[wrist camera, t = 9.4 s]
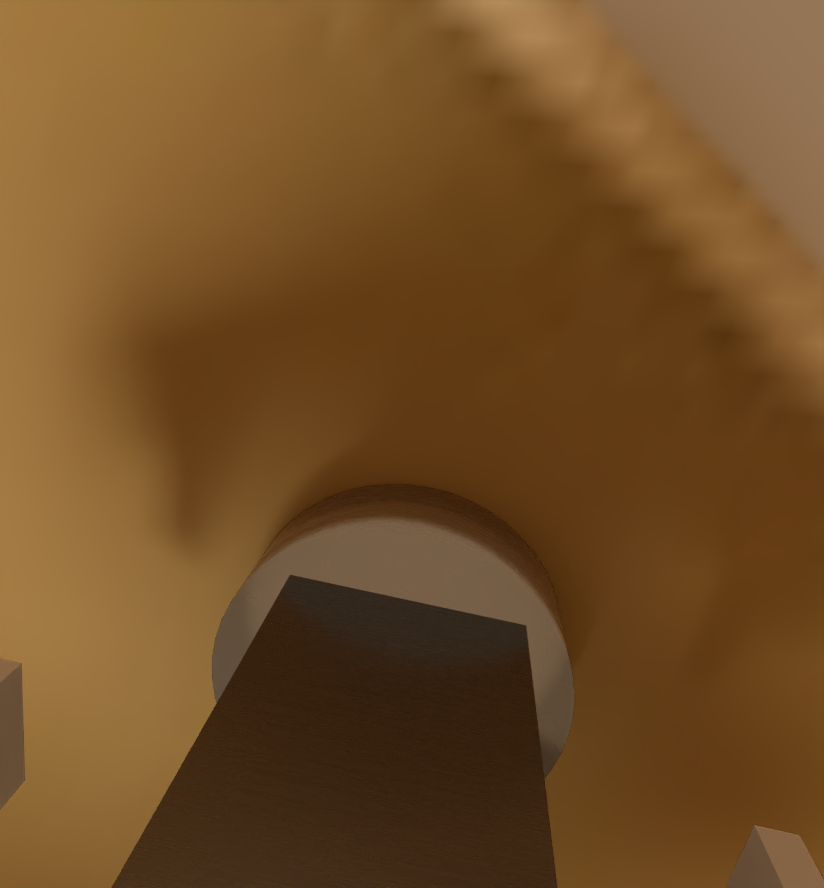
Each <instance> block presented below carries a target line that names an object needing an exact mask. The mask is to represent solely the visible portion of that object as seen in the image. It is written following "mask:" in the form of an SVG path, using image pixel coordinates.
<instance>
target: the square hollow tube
mask: <svg viewBox="0 0 824 888" xmlns="http://www.w3.org/2000/svg"><path fill="white" fill-rule="evenodd" d="M112 888H557V881H556V873H555V864H554V856H553V847H552V839H551V830H550V822H549V813H548V805H547V797H546V788H545V780H544V771H543V763H542V754H541V746H540V737H539V729H538V720H537V712H536V704H535V695H534V687H533V678H532V670H531V661H530V653H529V644H528V636H527V627H526V625H522V624H518V623H513V622H508V621H504V620H499V619H494V618H490V617H485V616H480V615H476V614H471V613H466V612H462V611H457V610H452V609H448V608H443V607H438V606H434V605H429V604H424V603H420V602H415V601H411V600H406V599H401V598H397V597H392V596H387V595H383V594H378V593H373V592H369V591H364V590H359V589H355V588H350V587H345V586H341V585H336V584H331V583H327V582H322V581H317V580H313V579H308V578H303V577H299V576H294V575H290V576H289V577H288V579H287V581H286V583H285V584H284V586H283V588H282V590H281V591H280V593H279V595H278V597H277V598H276V600H275V602H274V604H273V605H272V607H271V609H270V611H269V612H268V614H267V616H266V618H265V619H264V621H263V623H262V625H261V626H260V628H259V630H258V632H257V633H256V635H255V637H254V639H253V640H252V642H251V644H250V646H249V648H248V649H247V651H246V653H245V655H244V656H243V658H242V660H241V662H240V663H239V665H238V667H237V669H236V670H235V672H234V674H233V676H232V677H231V679H230V681H229V683H228V684H227V686H226V688H225V690H224V691H223V693H222V695H221V697H220V698H219V700H218V702H217V704H216V705H215V707H214V709H213V711H212V712H211V714H210V716H209V718H208V719H207V721H206V723H205V725H204V727H203V728H202V730H201V732H200V734H199V735H198V737H197V739H196V741H195V742H194V744H193V746H192V748H191V749H190V751H189V753H188V755H187V756H186V758H185V760H184V762H183V763H182V765H181V767H180V769H179V770H178V772H177V774H176V776H175V777H174V779H173V781H172V783H171V784H170V786H169V788H168V790H167V791H166V793H165V795H164V797H163V798H162V800H161V802H160V804H159V806H158V807H157V809H156V811H155V813H154V814H153V816H152V818H151V820H150V821H149V823H148V825H147V827H146V828H145V830H144V832H143V834H142V835H141V837H140V839H139V841H138V842H137V844H136V846H135V848H134V849H133V851H132V853H131V855H130V856H129V858H128V860H127V862H126V863H125V865H124V867H123V869H122V870H121V872H120V874H119V876H118V877H117V879H116V881H115V883H114V885H113V886H112Z"/></svg>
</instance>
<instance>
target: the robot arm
mask: <svg viewBox="0 0 824 888" xmlns="http://www.w3.org/2000/svg"><path fill="white" fill-rule="evenodd" d="M24 781H25V765H24V731H23V697H22V663H18V662H14V661H9V660H5V659H0V809H1V808H2V807H3V806H4V805H5V803H6V802H7V801H8V800H9V799H10V797H11V796H12V795H13V794H14V793H15V792H16V790H17V789H18V788H19V787H20V786H21V784H22V783H23V782H24ZM725 888H824V880H823V878H822V876H821V874H820V872H819V870H818V869H817V867H816V865H815V863H814V861H813V859H812V857H811V855H810V854H809V852H808V850H807V848H806V846H805V844H804V842H803V841H802V839H801V837H800V835H797V834H793V833H788V832H783V831H779V830H774V829H770V828H765V827H761V826H756V825H754V827H753V829H752V831H751V833H750V836H749V838H748V840H747V842H746V844H745V846H744V849H743V851H742V853H741V855H740V857H739V859H738V861H737V864H736V866H735V868H734V870H733V872H732V874H731V877H730V879H729V881H728V883H727V885H726V887H725Z"/></svg>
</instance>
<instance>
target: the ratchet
mask: <svg viewBox="0 0 824 888" xmlns="http://www.w3.org/2000/svg"><path fill="white" fill-rule="evenodd" d="M290 575H294V576H299V577H303V578H308V579H313V580H317V581H322V582H327V583H331V584H336V585H341V586H345V587H350V588H355V589H359V590H364V591H369V592H373V593H378V594H383V595H387V596H392V597H397V598H401V599H406V600H411V601H415V602H420V603H424V604H429V605H434V606H438V607H443V608H448V609H452V610H457V611H462V612H466V613H471V614H476V615H480V616H485V617H490V618H494V619H499V620H504V621H508V622H513V623H518V624H522V625H526V627H527V636H528V644H529V653H530V661H531V670H532V678H533V687H534V695H535V704H536V712H537V720H538V729H539V737H540V746H541V754H542V763H543V771H544V778H545V777H546V776H547V774H548V773H549V772H550V771H551V769H552V768H553V766H554V764H555V763H556V761H557V759H558V758H559V756H560V755H561V753H562V750H563V748H564V745H565V743H566V740H567V738H568V735H569V731H570V727H571V723H572V719H573V711H574V696H575V695H574V684H573V674H572V669H571V665H570V660H569V655H568V650H567V646H566V641H565V636H564V631H563V627H562V622H561V617H560V613H559V608H558V604H557V600H556V596H555V592H554V589H553V587H552V584H551V582H550V580H549V577H548V575H547V573H546V571H545V569H544V568H543V566H542V564H541V563H540V561H539V559H538V558H537V556H536V555H535V553H534V552H533V551H532V550H531V548H530V547H529V546H528V545H527V543H526V542H525V541H524V540H523V539H522V538H521V537H520V536H519V535H518V534H517V533H516V532H515V531H514V530H513V529H512V528H511V527H510V526H509V525H507V524H506V523H505V522H503V521H502V520H501V519H499V518H498V517H496V516H495V515H494V514H492V513H491V512H489V511H487V510H486V509H484V508H482V507H480V506H478V505H477V504H475V503H473V502H471V501H468V500H466V499H463V498H461V497H459V496H456V495H454V494H451V493H447V492H443V491H440V490H436V489H432V488H427V487H420V486H413V485H389V484H386V485H376V486H367V487H362V488H357V489H353V490H349V491H345V492H342V493H339V494H337V495H334V496H332V497H329V498H326V499H324V500H322V501H321V502H319V503H317V504H315V505H313V506H311V507H310V508H308V509H306V510H305V511H304V512H302V513H301V514H300V515H298V516H297V517H296V518H294V519H293V520H292V521H291V522H290V523H289V524H288V525H287V526H286V527H285V528H284V529H283V530H282V531H281V532H280V533H279V534H278V535H277V537H276V538H275V539H274V541H273V542H272V543H271V545H270V546H269V547H268V549H267V550H266V552H265V553H264V555H263V556H262V558H261V559H260V560H259V562H258V563H257V565H256V566H255V568H254V569H253V571H252V572H251V573H250V575H249V576H248V578H247V579H246V581H245V582H244V584H243V585H242V587H241V588H240V589H239V591H238V592H237V594H236V595H235V597H234V598H233V600H232V601H231V603H230V605H229V607H228V608H227V610H226V612H225V614H224V616H223V618H222V620H221V623H220V626H219V629H218V632H217V635H216V638H215V644H214V650H213V656H212V680H213V688H214V695H215V699H216V702H218V700H219V698H220V697H221V695H222V693H223V691H224V690H225V688H226V686H227V684H228V683H229V681H230V679H231V677H232V676H233V674H234V672H235V670H236V669H237V667H238V665H239V663H240V662H241V660H242V658H243V656H244V655H245V653H246V651H247V649H248V648H249V646H250V644H251V642H252V640H253V639H254V637H255V635H256V633H257V632H258V630H259V628H260V626H261V625H262V623H263V621H264V619H265V618H266V616H267V614H268V612H269V611H270V609H271V607H272V605H273V604H274V602H275V600H276V598H277V597H278V595H279V593H280V591H281V590H282V588H283V586H284V584H285V583H286V581H287V579H288V577H289V576H290Z"/></svg>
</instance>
